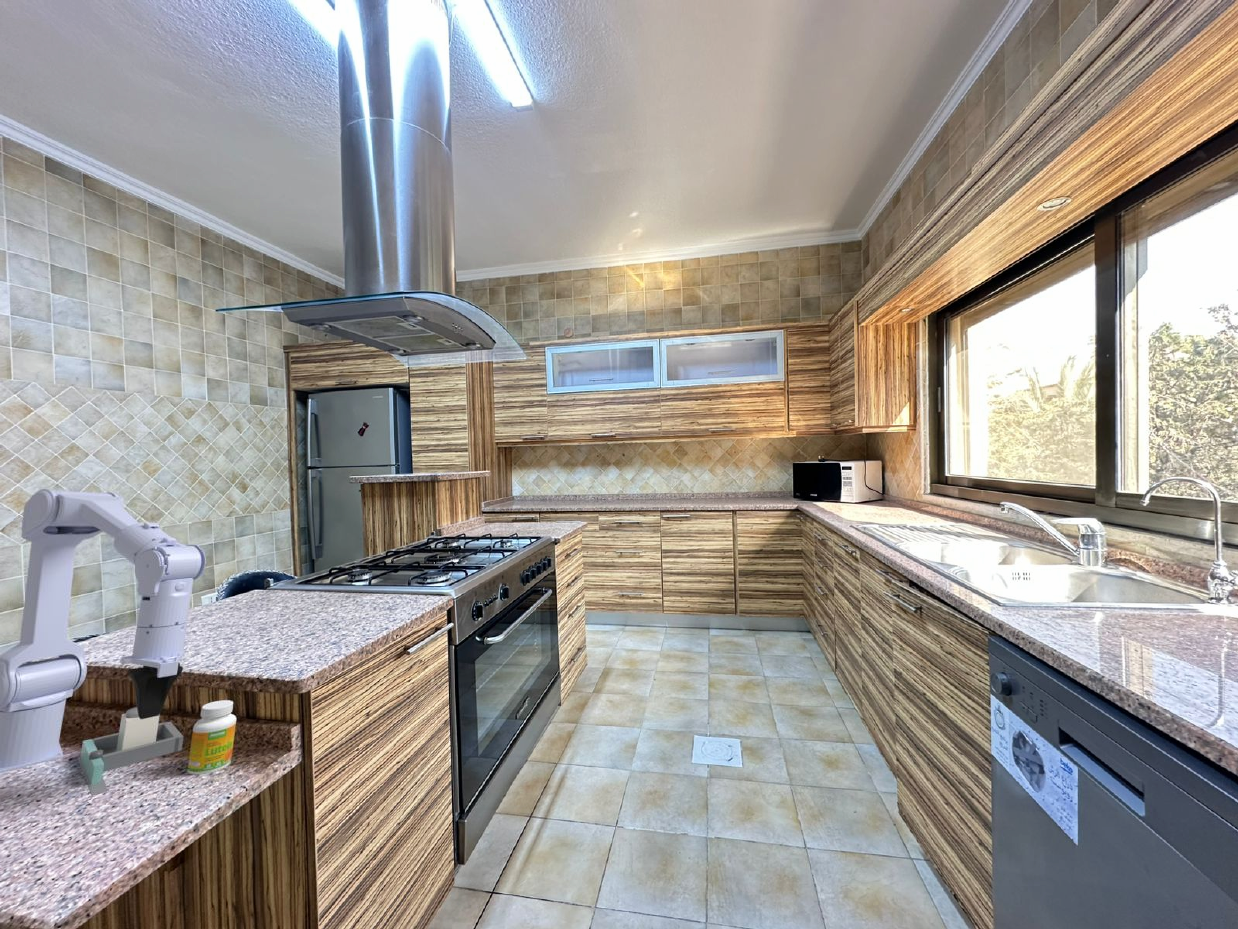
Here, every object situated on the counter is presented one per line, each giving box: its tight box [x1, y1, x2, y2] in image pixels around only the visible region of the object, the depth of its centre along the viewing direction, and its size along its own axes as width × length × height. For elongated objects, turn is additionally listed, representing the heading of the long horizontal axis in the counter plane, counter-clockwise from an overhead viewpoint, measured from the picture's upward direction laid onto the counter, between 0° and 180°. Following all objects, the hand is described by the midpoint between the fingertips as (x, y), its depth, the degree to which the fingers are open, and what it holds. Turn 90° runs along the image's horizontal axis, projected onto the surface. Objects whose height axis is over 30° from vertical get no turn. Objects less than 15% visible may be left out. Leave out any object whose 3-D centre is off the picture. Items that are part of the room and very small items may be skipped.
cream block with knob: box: [116, 706, 161, 752], centre depth 80 cm, size 4×4×7 cm
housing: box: [77, 721, 184, 797], centre depth 77 cm, size 18×11×2 cm, turn 54°
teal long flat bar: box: [79, 738, 104, 785], centre depth 74 cm, size 13×1×3 cm, turn 54°
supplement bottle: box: [187, 699, 237, 776], centre depth 77 cm, size 5×5×10 cm
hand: (149, 716), depth 71 cm, fingers closed
